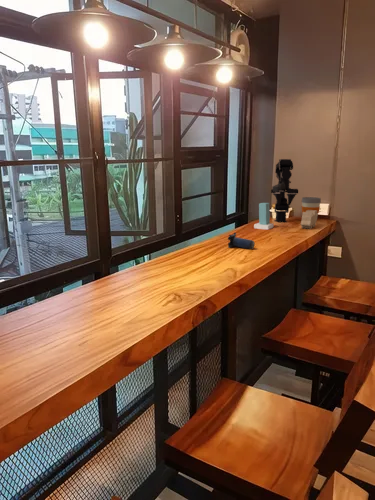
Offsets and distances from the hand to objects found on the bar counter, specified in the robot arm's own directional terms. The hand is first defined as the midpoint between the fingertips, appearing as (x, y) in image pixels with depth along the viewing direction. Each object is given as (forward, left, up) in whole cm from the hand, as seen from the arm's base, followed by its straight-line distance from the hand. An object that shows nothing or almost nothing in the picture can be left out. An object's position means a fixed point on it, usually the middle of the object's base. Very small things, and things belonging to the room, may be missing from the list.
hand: (283, 204), depth 248 cm
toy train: (+13, +9, -13) cm, 21 cm away
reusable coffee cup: (-7, +31, -13) cm, 34 cm away
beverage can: (+37, -60, -14) cm, 72 cm away
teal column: (+1, -16, -10) cm, 19 cm away
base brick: (+1, -16, -14) cm, 21 cm away
